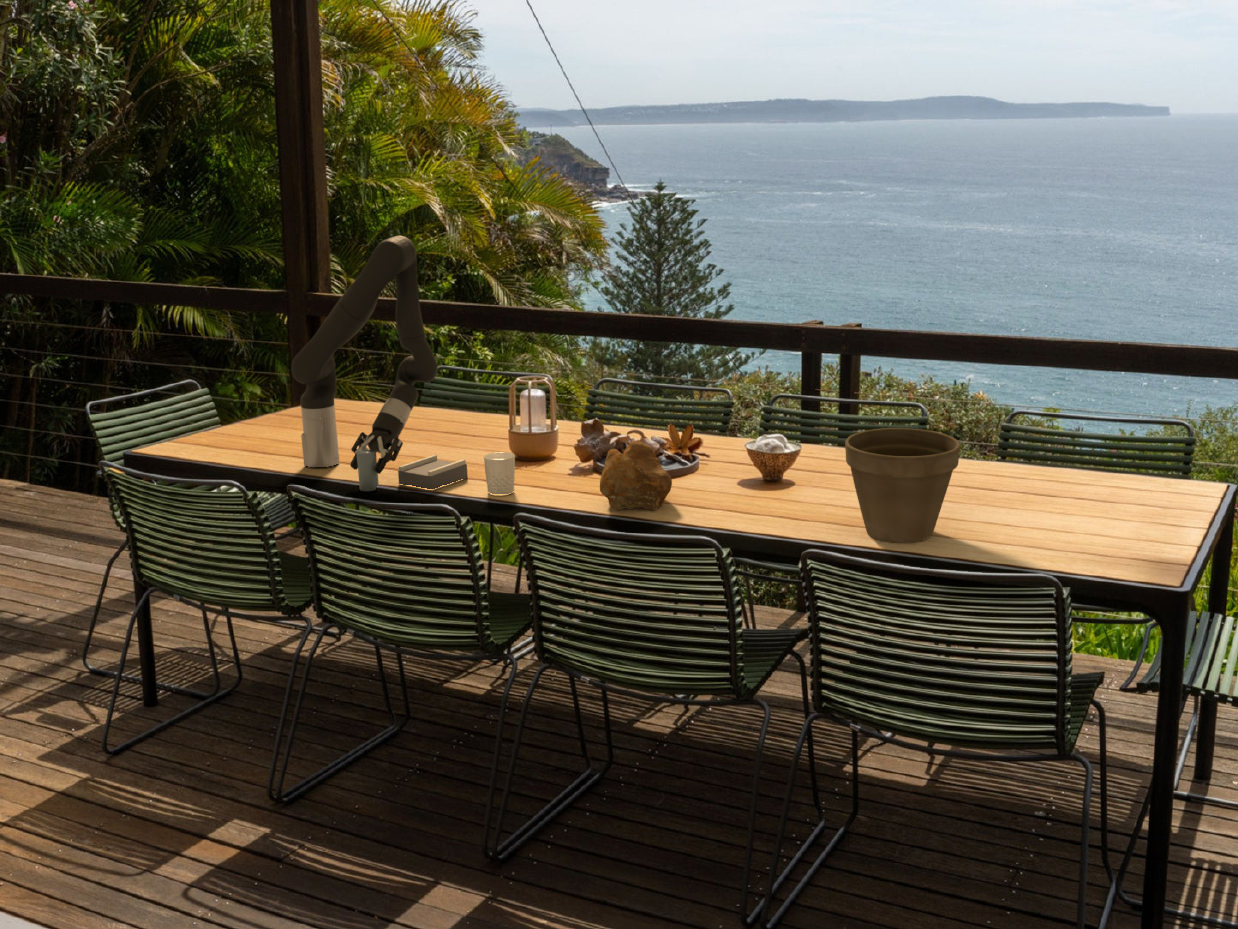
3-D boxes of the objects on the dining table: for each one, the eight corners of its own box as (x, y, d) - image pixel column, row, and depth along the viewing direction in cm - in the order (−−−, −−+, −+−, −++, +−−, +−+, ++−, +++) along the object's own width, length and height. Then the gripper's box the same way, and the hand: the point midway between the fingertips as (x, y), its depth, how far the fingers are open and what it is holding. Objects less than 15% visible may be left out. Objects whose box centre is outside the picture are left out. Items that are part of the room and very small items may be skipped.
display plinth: (432, 491, 313) (431, 472, 311) (399, 485, 319) (397, 466, 318) (467, 478, 324) (466, 459, 322) (434, 472, 330) (433, 454, 329)
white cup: (492, 499, 304) (490, 461, 302) (481, 491, 311) (479, 454, 309) (521, 494, 308) (519, 456, 305) (509, 487, 315) (507, 450, 312)
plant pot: (921, 559, 253) (926, 460, 247) (822, 537, 269) (823, 443, 263) (975, 530, 271) (980, 437, 265) (878, 510, 287) (881, 422, 281)
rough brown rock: (653, 525, 283) (658, 464, 279) (589, 512, 289) (593, 453, 285) (685, 501, 304) (690, 444, 300) (625, 490, 310) (629, 434, 306)
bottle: (357, 491, 314) (354, 454, 312) (362, 486, 319) (359, 449, 317) (376, 491, 314) (373, 454, 311) (380, 485, 319) (378, 449, 316)
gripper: (364, 408, 321) (337, 459, 315) (404, 413, 314) (376, 466, 308) (380, 423, 327) (353, 474, 321) (419, 429, 320) (392, 480, 313)
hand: (364, 470), depth 314 cm, fingers open, 8 cm apart
